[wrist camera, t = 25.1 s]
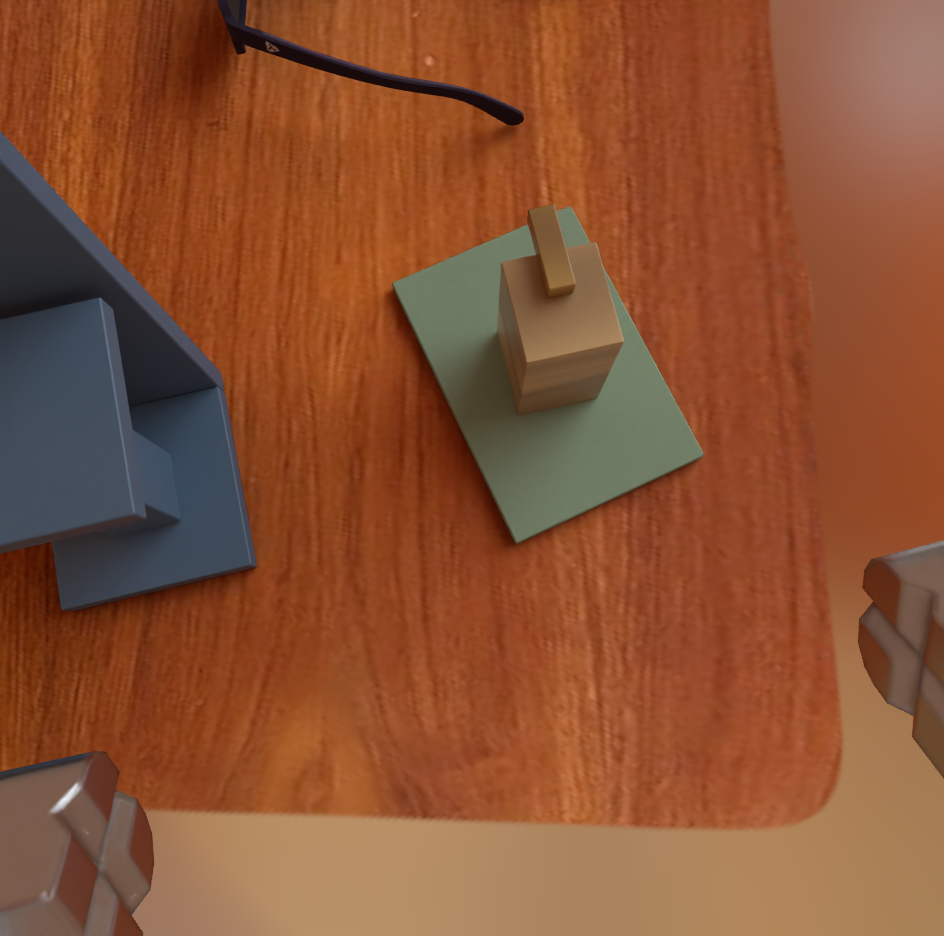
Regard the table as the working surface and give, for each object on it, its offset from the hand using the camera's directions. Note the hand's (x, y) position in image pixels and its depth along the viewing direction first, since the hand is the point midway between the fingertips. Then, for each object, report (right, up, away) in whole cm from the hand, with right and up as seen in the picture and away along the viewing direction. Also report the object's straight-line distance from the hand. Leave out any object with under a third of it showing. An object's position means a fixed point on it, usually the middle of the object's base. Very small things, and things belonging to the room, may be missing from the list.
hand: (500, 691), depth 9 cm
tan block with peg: (+3, +7, +29) cm, 30 cm away
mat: (+3, +7, +29) cm, 30 cm away
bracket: (-14, +1, +28) cm, 32 cm away
